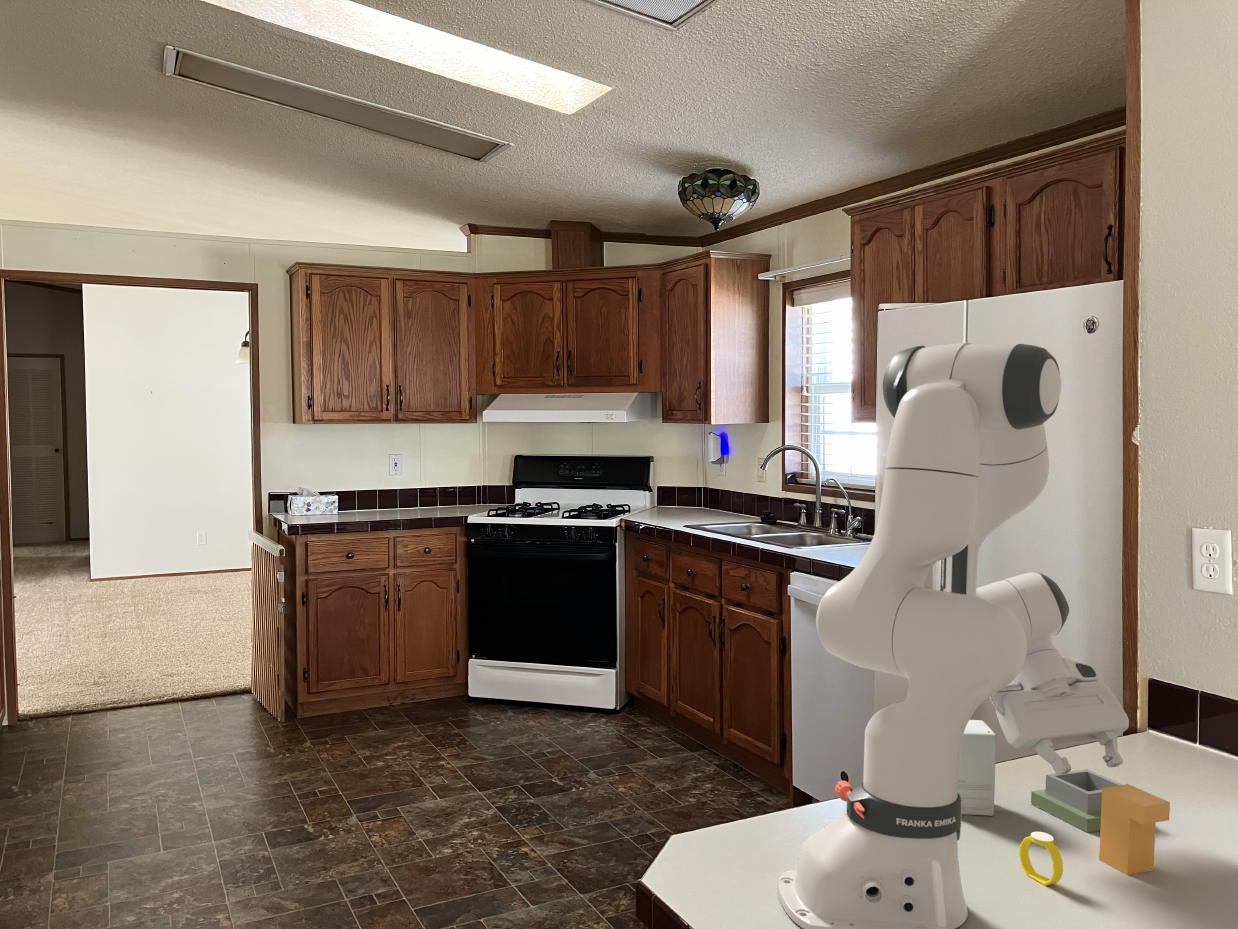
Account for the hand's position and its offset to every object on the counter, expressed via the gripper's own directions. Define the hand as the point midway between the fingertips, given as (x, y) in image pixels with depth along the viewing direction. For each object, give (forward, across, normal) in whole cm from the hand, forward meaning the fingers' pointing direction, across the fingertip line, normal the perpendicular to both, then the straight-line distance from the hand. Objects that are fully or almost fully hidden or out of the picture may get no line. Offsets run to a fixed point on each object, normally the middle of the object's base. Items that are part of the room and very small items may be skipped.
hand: (1091, 769), depth 136 cm
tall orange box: (+12, 0, +3) cm, 13 cm away
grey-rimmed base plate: (+2, +9, +14) cm, 16 cm away
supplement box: (-4, -8, +20) cm, 21 cm away
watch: (+12, -15, +3) cm, 19 cm away
